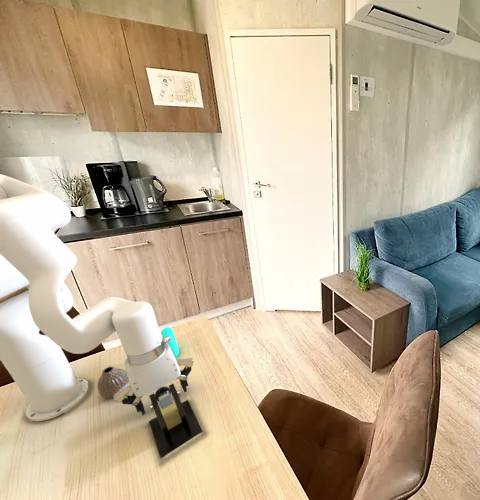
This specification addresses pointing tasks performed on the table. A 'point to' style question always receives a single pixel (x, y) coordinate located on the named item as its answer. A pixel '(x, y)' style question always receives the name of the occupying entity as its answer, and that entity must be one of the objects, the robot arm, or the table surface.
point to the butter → (171, 416)
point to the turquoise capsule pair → (172, 343)
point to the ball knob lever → (164, 396)
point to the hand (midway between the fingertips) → (164, 399)
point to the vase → (111, 382)
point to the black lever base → (177, 434)
